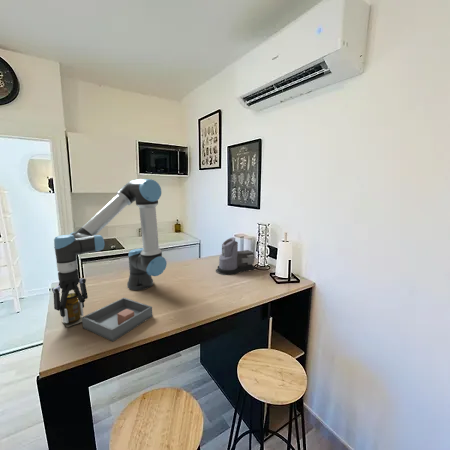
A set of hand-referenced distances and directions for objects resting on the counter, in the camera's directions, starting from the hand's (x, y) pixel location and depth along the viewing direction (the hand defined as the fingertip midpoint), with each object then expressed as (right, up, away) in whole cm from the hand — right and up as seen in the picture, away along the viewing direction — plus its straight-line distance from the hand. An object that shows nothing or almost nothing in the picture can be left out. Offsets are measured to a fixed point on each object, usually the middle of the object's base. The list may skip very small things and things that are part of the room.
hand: (73, 318), depth 112 cm
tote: (+21, -2, 0) cm, 21 cm away
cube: (+25, -1, -3) cm, 25 cm away
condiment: (0, -1, 0) cm, 1 cm away
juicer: (+77, +9, +69) cm, 104 cm away
